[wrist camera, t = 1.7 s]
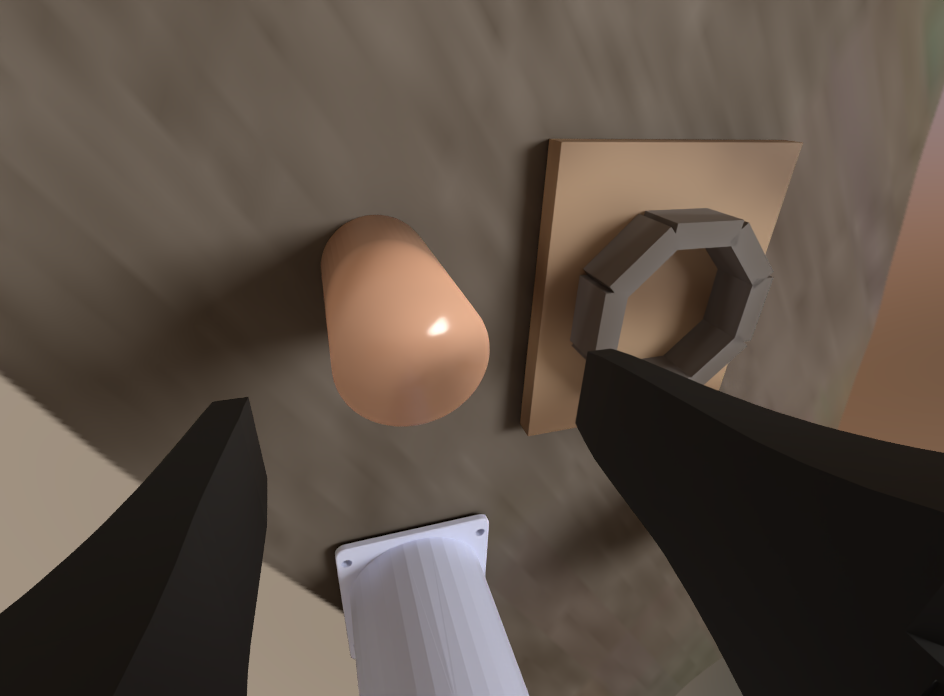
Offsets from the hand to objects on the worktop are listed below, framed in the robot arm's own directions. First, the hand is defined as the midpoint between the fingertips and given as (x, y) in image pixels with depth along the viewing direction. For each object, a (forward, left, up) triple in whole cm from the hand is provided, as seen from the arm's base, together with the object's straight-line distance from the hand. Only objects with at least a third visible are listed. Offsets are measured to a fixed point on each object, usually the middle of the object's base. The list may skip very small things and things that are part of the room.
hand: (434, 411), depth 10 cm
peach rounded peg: (0, 0, -9) cm, 9 cm away
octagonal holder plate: (-2, -12, -9) cm, 15 cm away
